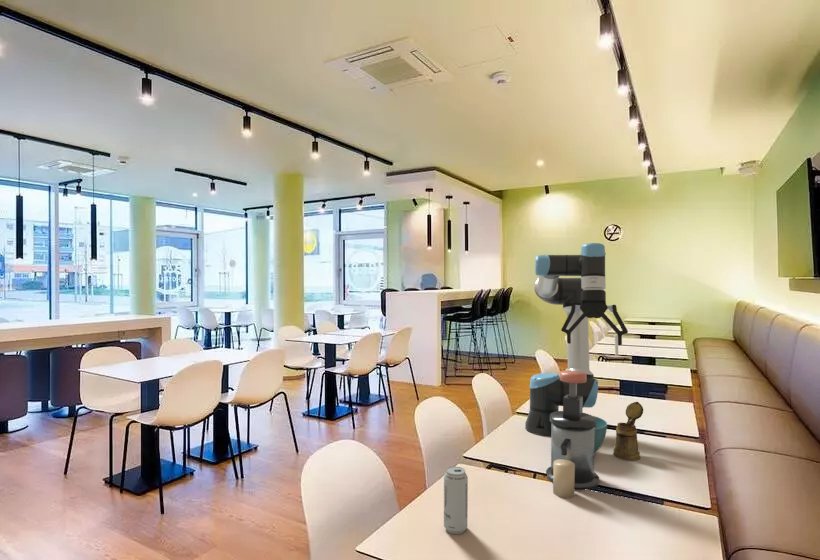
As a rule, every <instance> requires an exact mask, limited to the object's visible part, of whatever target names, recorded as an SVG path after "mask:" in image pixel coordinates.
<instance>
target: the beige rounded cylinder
mask: <svg viewBox="0 0 820 560" xmlns="http://www.w3.org/2000/svg"><path fill="white" fill-rule="evenodd" d="M552 484H553V485H552V486H553V487H552V493H553V494H554V495H555V497H556V496H557V497H559V498H563V499H571V498H574V497H575V489H574V484H575V464H574V463H573V462H571V461H569V460H564V459H558V460H555V461H554V462H553V483H552Z"/></svg>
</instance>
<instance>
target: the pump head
mask: <svg viewBox="0 0 820 560" xmlns="http://www.w3.org/2000/svg"><path fill="white" fill-rule="evenodd" d="M559 377H560V380H561V381H563V382H567V383H569V398H575V399H577V383H585V382H587V374H586V373H585V372H581V371H573V370H567V369H566V370H561V371H560V372H559Z"/></svg>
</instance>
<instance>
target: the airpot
mask: <svg viewBox="0 0 820 560" xmlns="http://www.w3.org/2000/svg"><path fill="white" fill-rule="evenodd" d="M583 409H584V408H583V396H577V399H575V398H569V395H568V394H566V395H565V396H564V397H563V406H562V410H559V411H556V412H553V413H551V414H550V422H551V435H550V437H551V439H550V440H551V441H550V442H551V443H550V445H551V446H550V447H551V448H550V466H548V468H546V471H545V477H546V479H547V480H548V481H549V482H551V483H552V484H553V462H554V461H555V460H558V459H564V460H569V461H571V462H573V463H574V464H575V484H574V490H579V491H580V490H581V491H582V490H584V491H585V490H591V489H592V490H593V489H595V488H597V487H598V486H599V485H598V484H600V476H599V474H597V473H596V472H595V454H594V437H595V426H596V418H595V417H596V416H595V415H592V414H590V413H585V412H583ZM594 416H595V417H594ZM546 474H547V476H546Z"/></svg>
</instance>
